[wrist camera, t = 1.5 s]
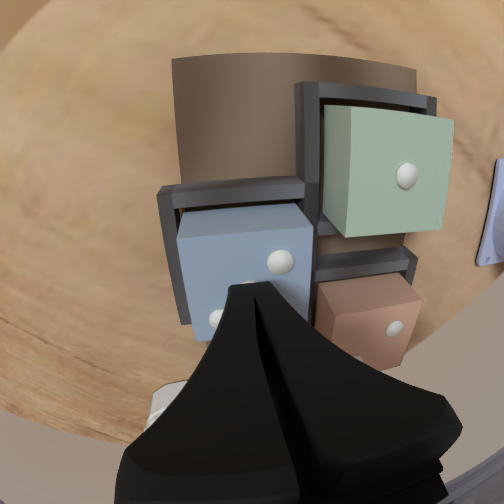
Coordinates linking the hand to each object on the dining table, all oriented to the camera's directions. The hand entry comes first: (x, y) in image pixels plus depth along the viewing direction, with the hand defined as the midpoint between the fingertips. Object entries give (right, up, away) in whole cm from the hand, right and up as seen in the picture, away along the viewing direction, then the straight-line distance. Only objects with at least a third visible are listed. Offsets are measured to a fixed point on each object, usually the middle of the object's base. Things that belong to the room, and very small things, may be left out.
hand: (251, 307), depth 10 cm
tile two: (+5, -1, +5) cm, 8 cm away
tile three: (0, +2, +3) cm, 3 cm away
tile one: (+5, +6, +2) cm, 8 cm away
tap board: (+3, +3, +5) cm, 6 cm away
